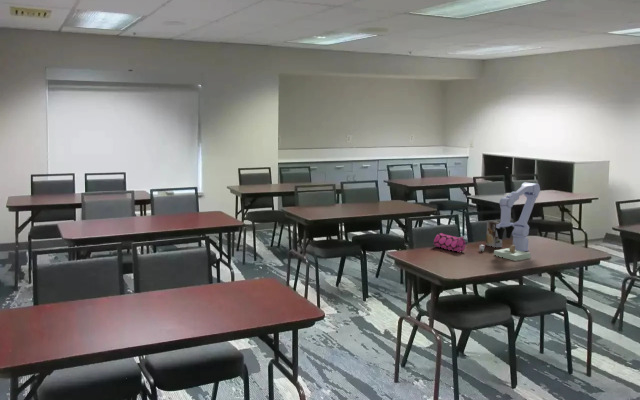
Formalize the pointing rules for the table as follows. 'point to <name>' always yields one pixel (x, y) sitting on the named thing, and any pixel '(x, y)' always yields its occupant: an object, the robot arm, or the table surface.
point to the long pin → (512, 248)
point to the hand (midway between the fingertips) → (504, 238)
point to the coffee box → (492, 235)
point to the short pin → (481, 247)
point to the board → (512, 254)
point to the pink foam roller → (450, 242)
